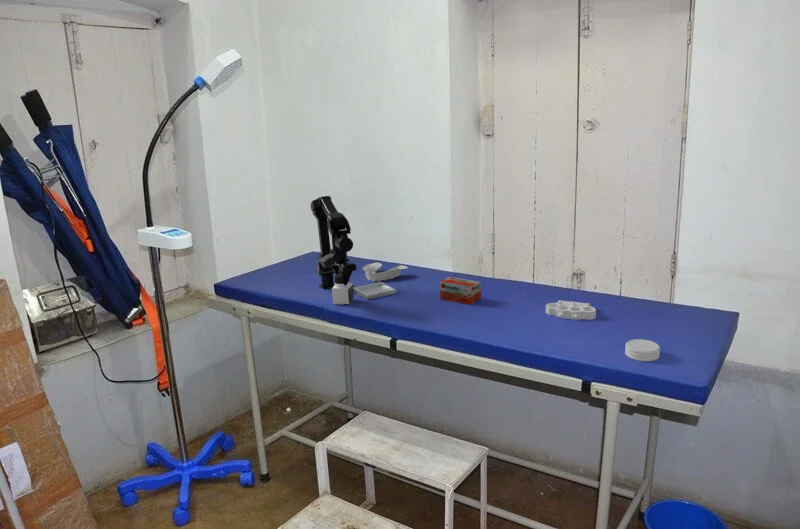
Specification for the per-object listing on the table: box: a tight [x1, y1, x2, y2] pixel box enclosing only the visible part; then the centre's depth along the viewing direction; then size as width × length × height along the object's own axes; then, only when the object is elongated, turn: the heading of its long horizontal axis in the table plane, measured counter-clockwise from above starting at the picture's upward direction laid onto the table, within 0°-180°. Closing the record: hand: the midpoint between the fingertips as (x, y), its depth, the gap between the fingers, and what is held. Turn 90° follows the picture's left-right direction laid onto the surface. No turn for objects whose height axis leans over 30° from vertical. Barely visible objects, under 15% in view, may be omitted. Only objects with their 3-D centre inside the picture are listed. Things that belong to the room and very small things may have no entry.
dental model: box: [362, 262, 408, 282], centre depth 278 cm, size 23×17×5 cm
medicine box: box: [439, 276, 482, 306], centre depth 241 cm, size 15×8×8 cm, turn 54°
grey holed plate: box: [545, 299, 597, 321], centre depth 220 cm, size 3×18×15 cm
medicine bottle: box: [331, 273, 355, 305], centre depth 245 cm, size 7×7×12 cm
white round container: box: [624, 338, 661, 362], centre depth 183 cm, size 10×10×4 cm
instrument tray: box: [353, 281, 397, 301], centre depth 256 cm, size 14×14×2 cm
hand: (342, 283), depth 244 cm, fingers closed on medicine bottle, 6 cm apart
